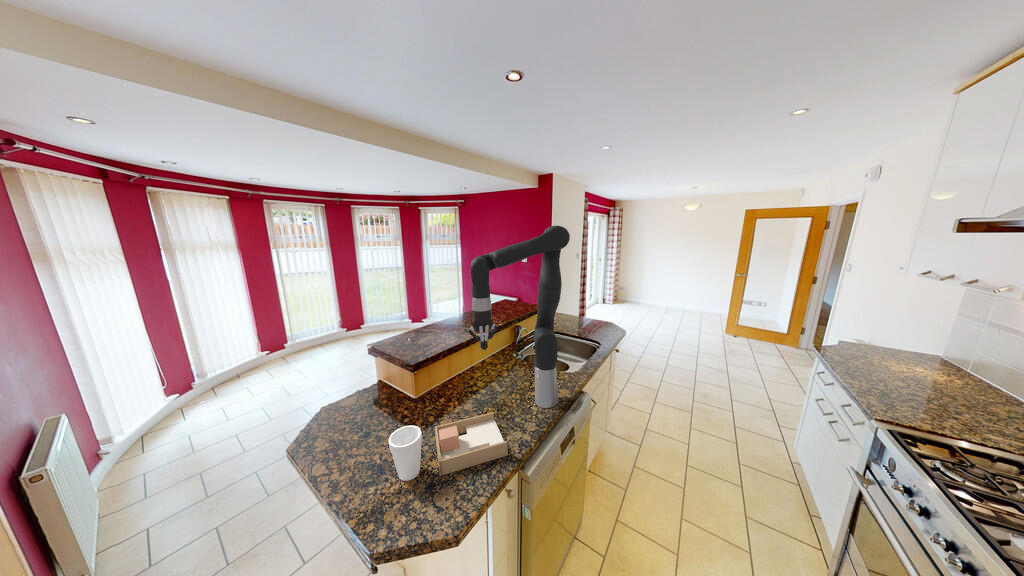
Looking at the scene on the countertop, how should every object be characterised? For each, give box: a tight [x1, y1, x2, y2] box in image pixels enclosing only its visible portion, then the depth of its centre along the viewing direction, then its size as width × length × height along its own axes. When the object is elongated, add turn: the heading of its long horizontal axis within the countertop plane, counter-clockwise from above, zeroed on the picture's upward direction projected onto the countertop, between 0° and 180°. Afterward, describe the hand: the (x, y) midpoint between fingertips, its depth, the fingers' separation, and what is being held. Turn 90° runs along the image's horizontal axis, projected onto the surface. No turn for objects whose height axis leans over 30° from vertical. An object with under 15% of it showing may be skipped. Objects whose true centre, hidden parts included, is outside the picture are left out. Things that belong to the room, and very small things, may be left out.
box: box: [434, 412, 509, 477], centre depth 97 cm, size 22×17×5 cm
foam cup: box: [388, 425, 423, 482], centre depth 86 cm, size 10×9×13 cm
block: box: [439, 426, 460, 453], centre depth 94 cm, size 6×5×5 cm
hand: (484, 349), depth 113 cm, fingers closed
